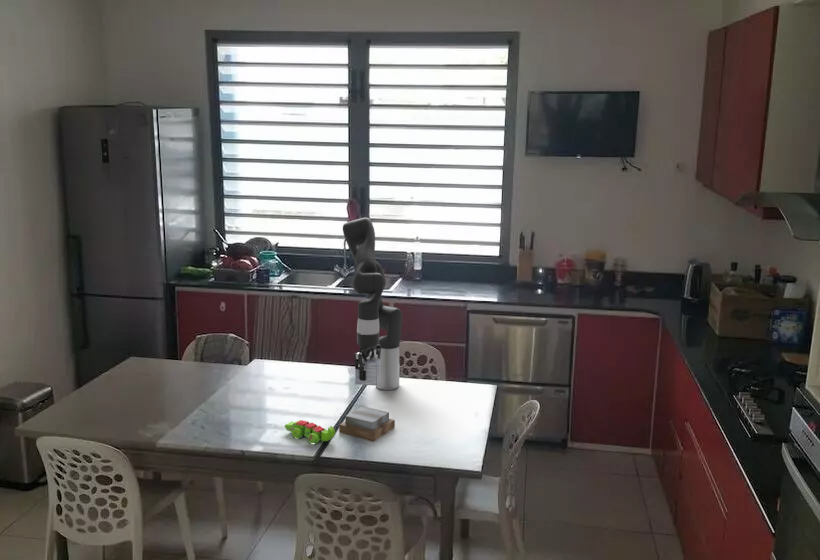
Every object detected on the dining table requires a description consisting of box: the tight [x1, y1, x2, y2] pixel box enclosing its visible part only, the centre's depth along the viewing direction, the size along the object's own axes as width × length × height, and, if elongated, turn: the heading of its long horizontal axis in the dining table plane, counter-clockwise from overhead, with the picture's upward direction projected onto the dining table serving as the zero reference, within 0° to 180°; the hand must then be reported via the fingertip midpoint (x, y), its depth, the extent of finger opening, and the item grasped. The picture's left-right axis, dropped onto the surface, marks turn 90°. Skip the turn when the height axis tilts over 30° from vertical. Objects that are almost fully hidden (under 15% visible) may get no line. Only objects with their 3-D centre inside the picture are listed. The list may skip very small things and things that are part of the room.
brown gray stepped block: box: [338, 405, 396, 442], centre depth 268 cm, size 14×14×6 cm
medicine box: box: [354, 358, 380, 387], centre depth 264 cm, size 8×4×9 cm, turn 83°
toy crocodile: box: [284, 419, 336, 445], centre depth 261 cm, size 20×7×6 cm, turn 55°
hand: (367, 377), depth 265 cm, fingers closed on medicine box, 5 cm apart
